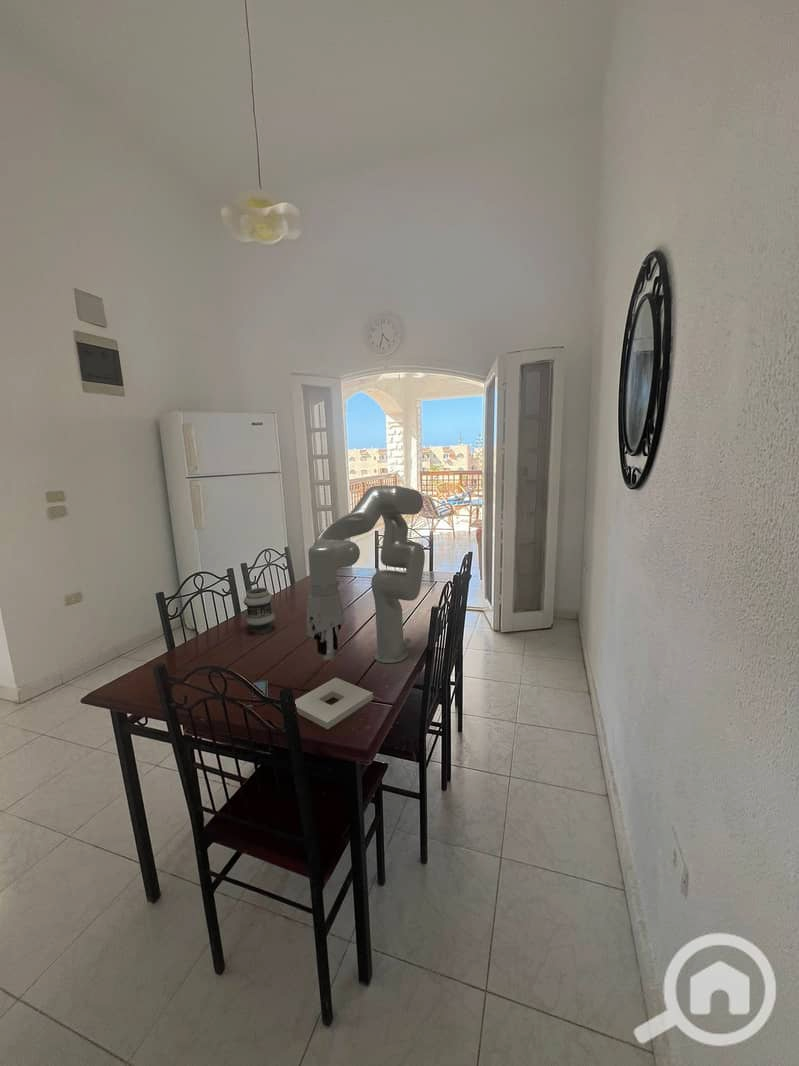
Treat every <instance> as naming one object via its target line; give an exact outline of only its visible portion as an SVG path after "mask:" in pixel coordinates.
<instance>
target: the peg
mask: <svg viewBox="0 0 799 1066" xmlns="http://www.w3.org/2000/svg"><path fill="white" fill-rule="evenodd" d="M332 625H333V623H331V624H330V626H332ZM324 641H326V647H327V654H326V655H322V654H321V659H322V660H323V661H330V660H333V659H334V658H335V650H334V641H333V628H330V629H328V630H326V631H325V638H324Z"/></svg>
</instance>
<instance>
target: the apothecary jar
mask: <svg viewBox="0 0 799 1066" xmlns="http://www.w3.org/2000/svg"><path fill="white" fill-rule="evenodd" d="M273 597H274V596H273V594H272V593H270V592H269V589H268V588H267V587H257V588H252V589H250V590H247V591H246V596H245V597H244V598H243V605H245V606H246V608H247V609H246V610H247V614H246V617H245V619H244V621H245V623H246V624H247V626H249V627H252V628H251V629H249V631H248V632H249V634H250V635H253V636H262V635H261V634H264V635H267V634H266V633H268V634H270V633H271V632H270V631H272V630H273V631H274V626H271V625H270V624H272V623H273V622H274V621H275V619H276V614H275V612H273V610H272V604H271V603H272V602H273V600H274V598H273ZM273 631H272V632H273ZM269 632H270V633H269Z"/></svg>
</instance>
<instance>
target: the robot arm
mask: <svg viewBox="0 0 799 1066" xmlns="http://www.w3.org/2000/svg"><path fill="white" fill-rule="evenodd" d="M356 503H357V504H356V505H355V506H354V507H353V509H352V510H351V512H349V513H348V514H345V515H344V516H341V517H340V518H338V519H337V520H335V521H333V522H331V523H330V524H328V525H327V526H326V527H325V528H324V529H323V530H322V532H321V533H320V534H319V535H318V536H317V538H316V540H315V541H314V543H313V545H312V546H310V547H309V549H308V568H309V583H310V595H308V597H307V605H306V629H307V631H306V636H307V637H310V638H312V639H314V641H316V647H317V648H316V649H317V653H318V654H319V655H321V656H322V655H326V654H327V647H326V641H324V638H325V631H326V630H328V629H330V628H333V641H334V651H337V650H338V649H339V646H338V643H339V642H338V636H339V635H340V630H341V629H342V626H343V625H344V624H345V623H346V620H345V618H344V611H343V601H342V598H341V593H340V591H339V585H340V581H339V580H338V569H339V568H347V567H348V568H349V567H351V566H353V565H355V564H356V563H357V562H358V560H359V558H360V555H361V551H360V548H359V545H357V544H356V543H355V542H354V541H350V540H347V539H350V538H353V537H357V536H360V535H364V534H366V533H368V532H370V531H372V530H373V528H374V527H375V526H376V524H377V522H378V521H379V519H380V518H382V519H383V524H384V532H383V537H382V545H381V549H380V562H381V564H382V565H384V566H386V567H391V568H396V569H397V568H398V569H401V568H402V569H405V571H396V570H390V569H389V570H385V569H384V570H379V571H377V572H375V573H374V574H373V575H372V578H371V581H370V582H371V583H370V585H371V591H372V595H373V599H374V606H375V608H374V609H375V610H374V611H375V625H376V626H375V628H376V630H375V631H376V647H377V648H376V649H375V650H374V651H373V653H372V654H373V659H374V660H375V661H377V662H379V663H383V664H395V663H396V664H397V663H400V662H403V661H404V660H406V659H407V658H408V657H409V651H408V649H407V648H406V646H407V645H408V644H410V643H411V641H412V640H411V639H410V637H407V638H405V639H404V627H403V625H404V623H403V607H402V604H401V602H400V600H402V601H409V602H410V601H415V600H417V598H418V597H419V595H420V592H421V588H422V582H423V575H424V568H425V562H426V561H425V560H426V557H425V556H426V555H425V549H424V546H423V545H422V544H421V543H419V542H416V541H408V535H409V534H408V533H409V527H408V523H407V521H406V520H405V519H404V517H403V515H407V516H409V515H410V516H414V515H415V516H416V515H418V514H419V513H420V512H421V511H422V508H423V506H424V499H423V496H422V494H421V493H420V492H419V491H418V490H416V489H412V488H409V487H408V488H407V487H405V486H400V485H375V486H371V487H369V488H368V489H367V490H366V491H365V493H364V494H363V495H362V497H361V498H360V499H359V501H358V502H356ZM331 623H333V625H332V626H330V624H331Z"/></svg>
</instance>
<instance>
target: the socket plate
mask: <svg viewBox="0 0 799 1066" xmlns="http://www.w3.org/2000/svg"><path fill="white" fill-rule="evenodd" d="M333 698H334V699H336V700H338V701H336V702H335V703H333V704H330V703H327V701H328V700H330V699H333ZM294 700H295V704H296V708H297V712H298V714H297V715H300V716H302V717H303V718H305V719H307V720H309V721H311V722H313V723H314V724H316V725H318V726H320V727H323V728H324V729H325V730H330V729H331V728H332V727H334V726H335V725H337V724H338V723H340V722H341V721H343V720H345V718H347V717H349V716H350V715H352V714H354V713H355V712H357V711H358V710H359V709H361V708H362V707H363V706H365V705H367V704H368V703H369V702H371V701H373V700H374V692H372V691H369V690H367V689H364V688H362V687H359V686H357V685H355V684H352V683H350V682H348V681H346V680H343V679H340V678H338V677H334V678H331V680H328V681H327V682H324V684H321V685H320V686H318V687H316V688H314V689H313V690H311V691H308V692H307V693H305V694H303V695H302V696H300V697H298V698H296V699H294Z"/></svg>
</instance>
